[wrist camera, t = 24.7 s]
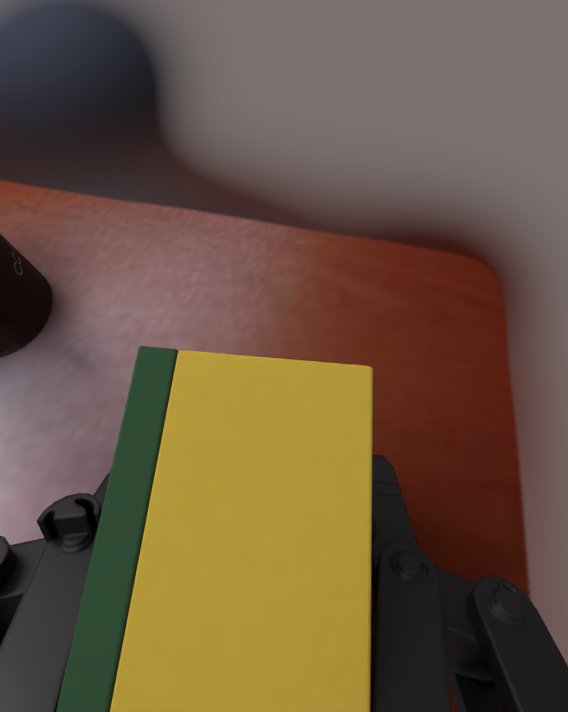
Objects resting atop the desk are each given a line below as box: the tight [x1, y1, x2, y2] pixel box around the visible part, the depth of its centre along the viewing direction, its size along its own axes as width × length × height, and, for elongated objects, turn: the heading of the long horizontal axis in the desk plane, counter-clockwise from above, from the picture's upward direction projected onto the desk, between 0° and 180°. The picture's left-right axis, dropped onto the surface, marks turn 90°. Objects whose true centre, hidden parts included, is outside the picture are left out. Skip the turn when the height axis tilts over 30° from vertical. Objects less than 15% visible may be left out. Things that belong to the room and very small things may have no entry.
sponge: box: [56, 346, 373, 712], centre depth 11 cm, size 5×7×11 cm
